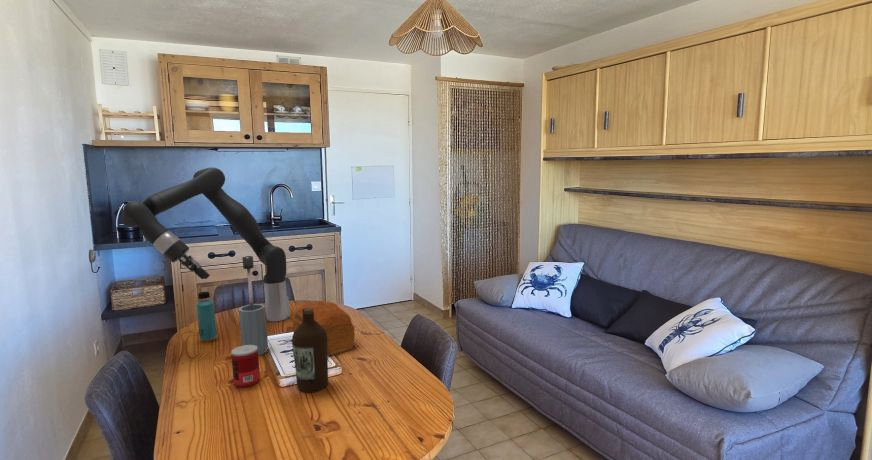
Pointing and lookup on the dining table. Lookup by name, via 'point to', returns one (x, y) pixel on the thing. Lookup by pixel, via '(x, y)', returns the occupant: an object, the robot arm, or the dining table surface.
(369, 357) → the dining table surface
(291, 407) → the dining table surface
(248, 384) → the canned food
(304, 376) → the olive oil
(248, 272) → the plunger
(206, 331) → the beverage bottle
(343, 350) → the bread
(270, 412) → the dining table surface
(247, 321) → the grey utensil holder
